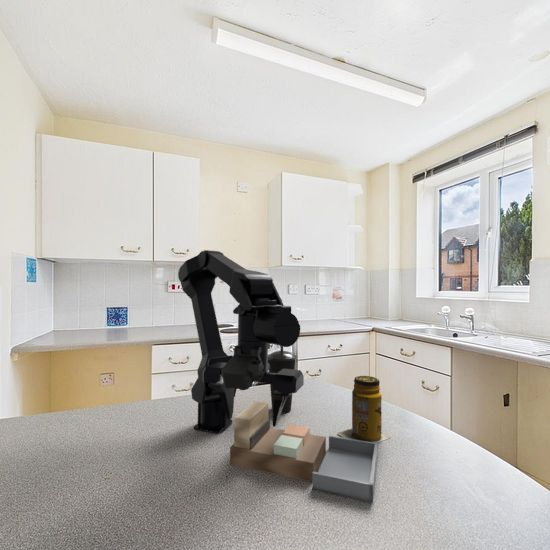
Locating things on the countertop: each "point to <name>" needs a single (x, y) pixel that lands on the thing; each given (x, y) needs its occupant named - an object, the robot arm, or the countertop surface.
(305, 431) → the tile terracotta
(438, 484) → the countertop surface
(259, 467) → the walnut board
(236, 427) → the tall cream block
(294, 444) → the tile sage
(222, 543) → the countertop surface
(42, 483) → the countertop surface
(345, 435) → the condiment
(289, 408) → the drinking cup
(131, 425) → the countertop surface
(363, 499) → the tray
